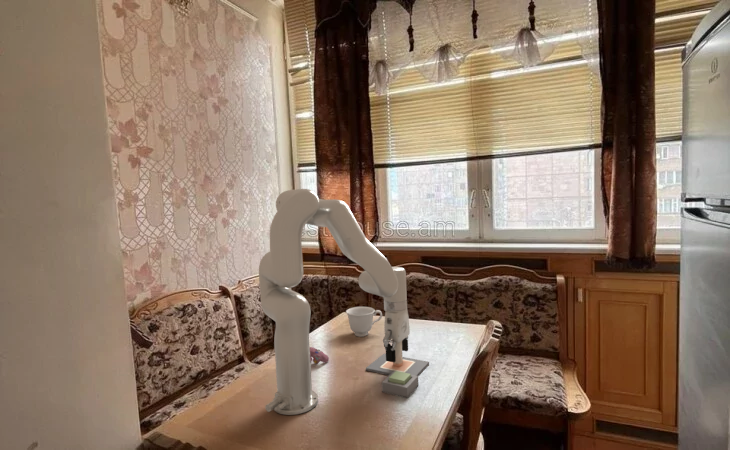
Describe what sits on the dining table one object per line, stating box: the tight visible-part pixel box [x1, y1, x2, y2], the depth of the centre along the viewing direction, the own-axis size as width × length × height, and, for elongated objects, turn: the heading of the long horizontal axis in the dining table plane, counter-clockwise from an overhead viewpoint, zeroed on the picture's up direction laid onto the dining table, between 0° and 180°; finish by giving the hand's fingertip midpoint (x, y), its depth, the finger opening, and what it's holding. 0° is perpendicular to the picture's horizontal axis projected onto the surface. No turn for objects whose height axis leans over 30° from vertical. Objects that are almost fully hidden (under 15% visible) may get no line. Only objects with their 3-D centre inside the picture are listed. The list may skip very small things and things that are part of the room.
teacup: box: [345, 306, 383, 338], centre depth 163 cm, size 12×15×10 cm
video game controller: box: [310, 346, 330, 365], centre depth 137 cm, size 10×5×7 cm, turn 63°
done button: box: [389, 371, 411, 385], centre depth 116 cm, size 5×5×2 cm
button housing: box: [381, 371, 419, 399], centre depth 116 cm, size 8×8×3 cm
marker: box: [391, 339, 403, 367], centre depth 130 cm, size 3×3×10 cm
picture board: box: [365, 353, 430, 377], centre depth 131 cm, size 13×17×1 cm
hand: (397, 355), depth 130 cm, fingers open, 9 cm apart
